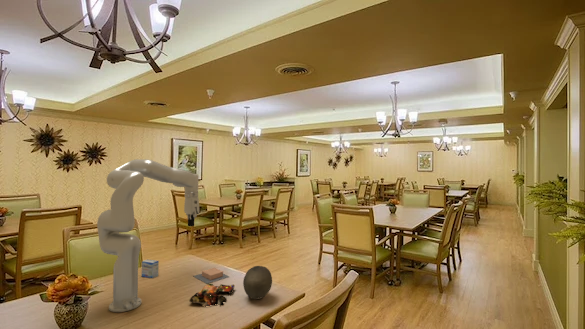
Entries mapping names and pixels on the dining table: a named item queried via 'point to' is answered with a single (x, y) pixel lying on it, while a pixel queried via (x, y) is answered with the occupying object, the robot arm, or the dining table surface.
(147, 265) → the medicine box
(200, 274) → the mat
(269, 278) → the dark round vase
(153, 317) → the dining table surface
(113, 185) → the robot arm
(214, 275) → the tile
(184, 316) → the dining table surface
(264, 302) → the dining table surface
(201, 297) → the food
